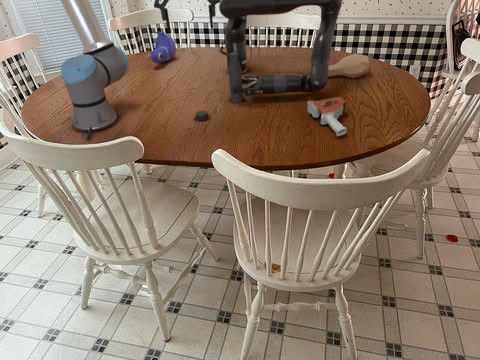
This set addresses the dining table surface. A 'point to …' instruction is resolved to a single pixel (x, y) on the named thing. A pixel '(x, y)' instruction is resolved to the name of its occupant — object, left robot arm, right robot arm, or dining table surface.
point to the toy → (163, 48)
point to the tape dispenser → (329, 113)
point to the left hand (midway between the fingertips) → (190, 29)
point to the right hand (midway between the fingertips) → (233, 86)
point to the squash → (350, 66)
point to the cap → (201, 115)
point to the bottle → (235, 77)
